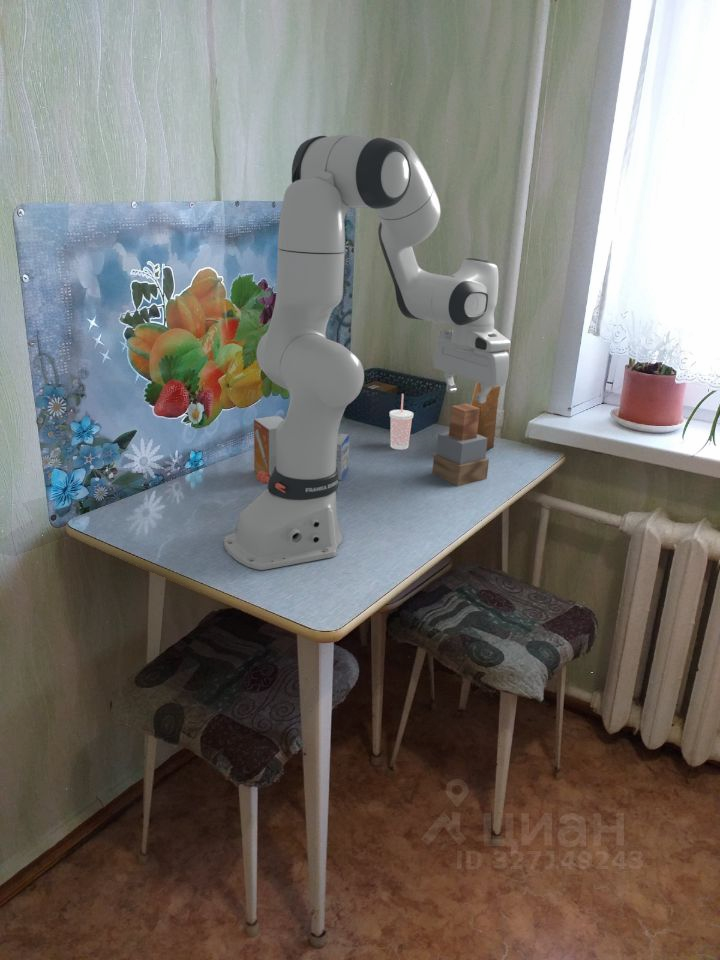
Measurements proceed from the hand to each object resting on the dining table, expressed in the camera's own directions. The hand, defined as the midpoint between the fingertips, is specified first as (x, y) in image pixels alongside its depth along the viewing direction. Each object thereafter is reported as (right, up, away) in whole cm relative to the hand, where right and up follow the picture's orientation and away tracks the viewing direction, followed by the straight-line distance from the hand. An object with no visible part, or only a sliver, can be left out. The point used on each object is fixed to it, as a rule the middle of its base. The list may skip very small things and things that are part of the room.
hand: (465, 397), depth 171 cm
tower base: (0, -18, +8) cm, 19 cm away
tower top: (0, -13, +6) cm, 15 cm away
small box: (-43, -18, +3) cm, 47 cm away
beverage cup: (-14, -10, +25) cm, 30 cm away
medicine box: (-29, -17, +6) cm, 35 cm away
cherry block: (0, -9, +4) cm, 10 cm away
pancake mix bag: (+7, -11, +24) cm, 28 cm away
